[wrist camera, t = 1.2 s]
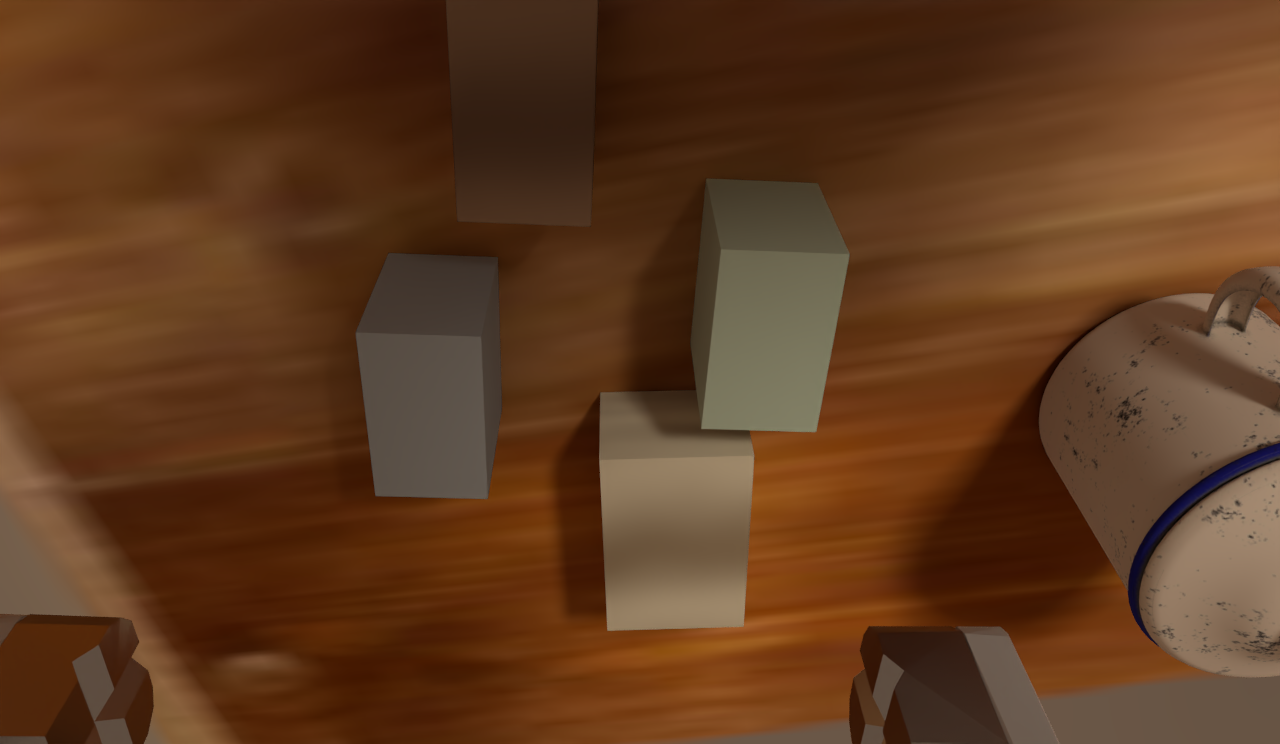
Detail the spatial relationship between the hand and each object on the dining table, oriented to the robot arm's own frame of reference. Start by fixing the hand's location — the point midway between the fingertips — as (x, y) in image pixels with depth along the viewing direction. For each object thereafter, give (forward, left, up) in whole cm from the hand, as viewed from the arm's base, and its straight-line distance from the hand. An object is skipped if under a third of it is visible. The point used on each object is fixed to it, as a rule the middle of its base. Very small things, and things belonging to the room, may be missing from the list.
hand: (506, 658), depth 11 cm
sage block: (+6, +6, -21) cm, 23 cm away
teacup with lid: (+9, +21, -21) cm, 31 cm away
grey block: (+9, -4, -21) cm, 23 cm away
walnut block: (-1, -1, -21) cm, 21 cm away
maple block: (+15, +4, -21) cm, 26 cm away
